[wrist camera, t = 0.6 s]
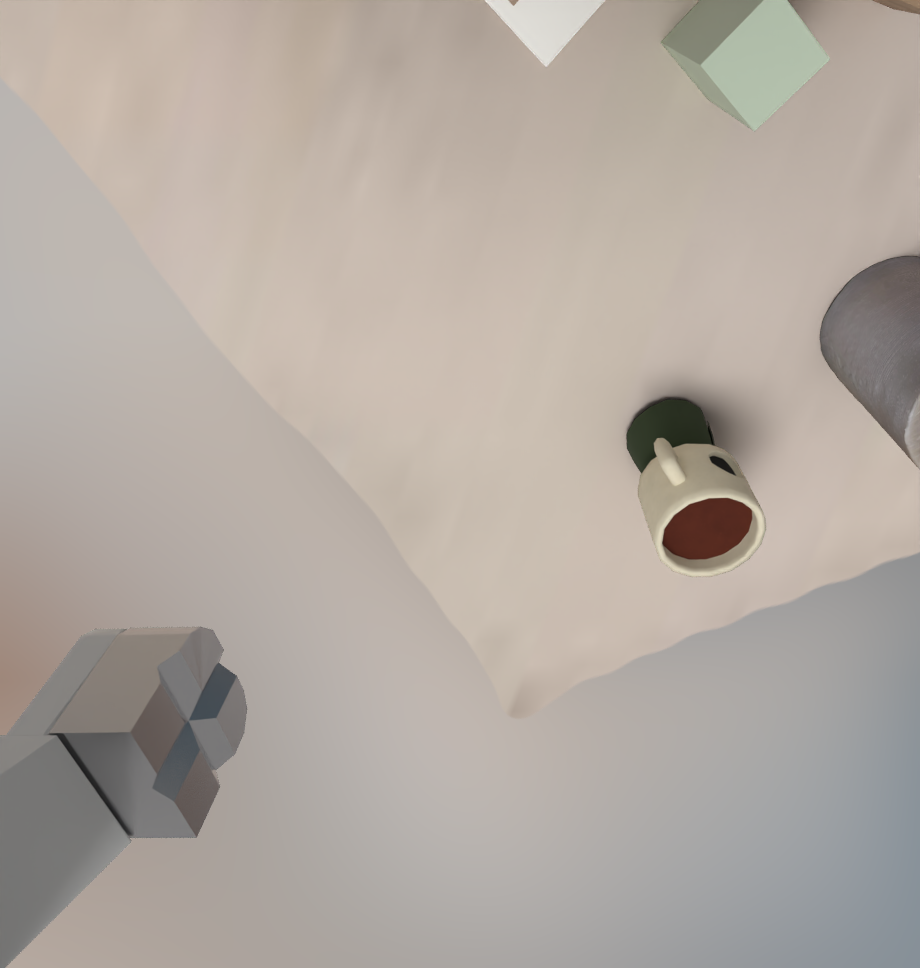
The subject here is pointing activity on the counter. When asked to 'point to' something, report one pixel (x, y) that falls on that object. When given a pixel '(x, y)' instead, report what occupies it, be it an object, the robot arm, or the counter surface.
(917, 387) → the pillar candle
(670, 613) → the counter surface
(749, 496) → the character mug
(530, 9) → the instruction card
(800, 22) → the sage brick
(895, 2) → the walnut base
